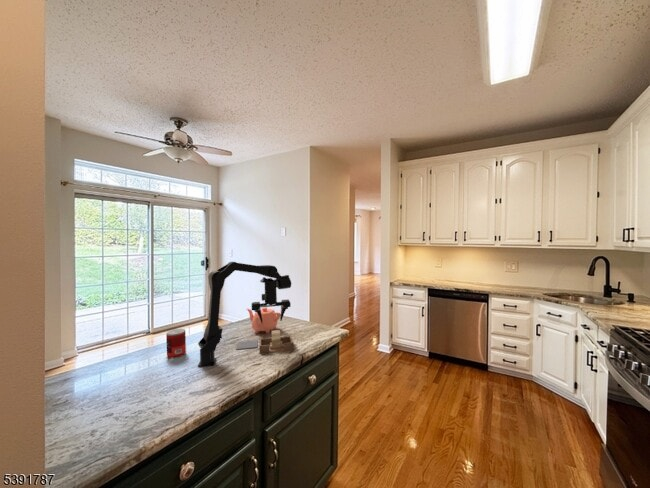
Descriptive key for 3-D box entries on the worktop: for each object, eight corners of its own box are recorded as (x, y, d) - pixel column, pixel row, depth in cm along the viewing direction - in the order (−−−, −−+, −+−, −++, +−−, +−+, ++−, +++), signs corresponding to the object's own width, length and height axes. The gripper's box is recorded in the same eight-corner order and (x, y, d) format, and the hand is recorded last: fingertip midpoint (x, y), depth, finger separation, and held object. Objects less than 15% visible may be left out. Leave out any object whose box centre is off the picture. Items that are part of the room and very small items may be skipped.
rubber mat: (257, 347, 135) (257, 346, 135) (236, 349, 132) (236, 349, 132) (257, 340, 144) (257, 339, 144) (237, 342, 142) (237, 341, 142)
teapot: (256, 337, 150) (256, 312, 150) (246, 329, 164) (245, 307, 164) (282, 331, 159) (282, 308, 159) (271, 324, 173) (270, 303, 173)
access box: (293, 349, 131) (293, 342, 131) (259, 353, 127) (259, 346, 127) (291, 342, 140) (291, 335, 140) (259, 345, 137) (259, 339, 137)
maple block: (280, 344, 132) (280, 332, 132) (272, 345, 131) (271, 333, 131) (279, 342, 136) (279, 330, 136) (271, 342, 135) (271, 330, 135)
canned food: (189, 351, 131) (188, 328, 131) (178, 358, 123) (178, 334, 123) (174, 351, 132) (173, 328, 132) (163, 358, 124) (162, 334, 124)
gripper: (287, 286, 145) (288, 315, 145) (251, 289, 140) (252, 319, 140) (290, 290, 134) (291, 321, 134) (251, 293, 129) (252, 325, 129)
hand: (271, 321), depth 135 cm, fingers open, 9 cm apart
